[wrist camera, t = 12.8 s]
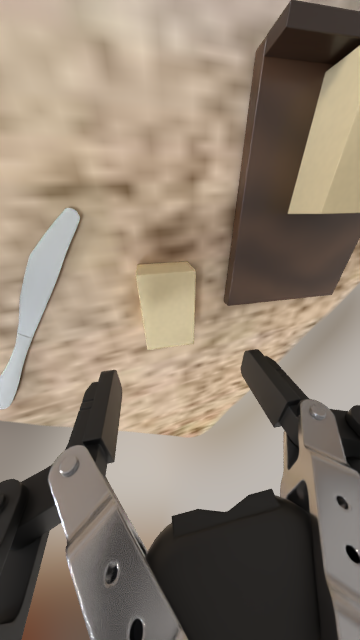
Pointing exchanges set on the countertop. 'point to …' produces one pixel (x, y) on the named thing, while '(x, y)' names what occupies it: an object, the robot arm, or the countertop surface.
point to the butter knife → (37, 294)
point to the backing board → (288, 164)
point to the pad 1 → (167, 303)
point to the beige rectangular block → (333, 146)
